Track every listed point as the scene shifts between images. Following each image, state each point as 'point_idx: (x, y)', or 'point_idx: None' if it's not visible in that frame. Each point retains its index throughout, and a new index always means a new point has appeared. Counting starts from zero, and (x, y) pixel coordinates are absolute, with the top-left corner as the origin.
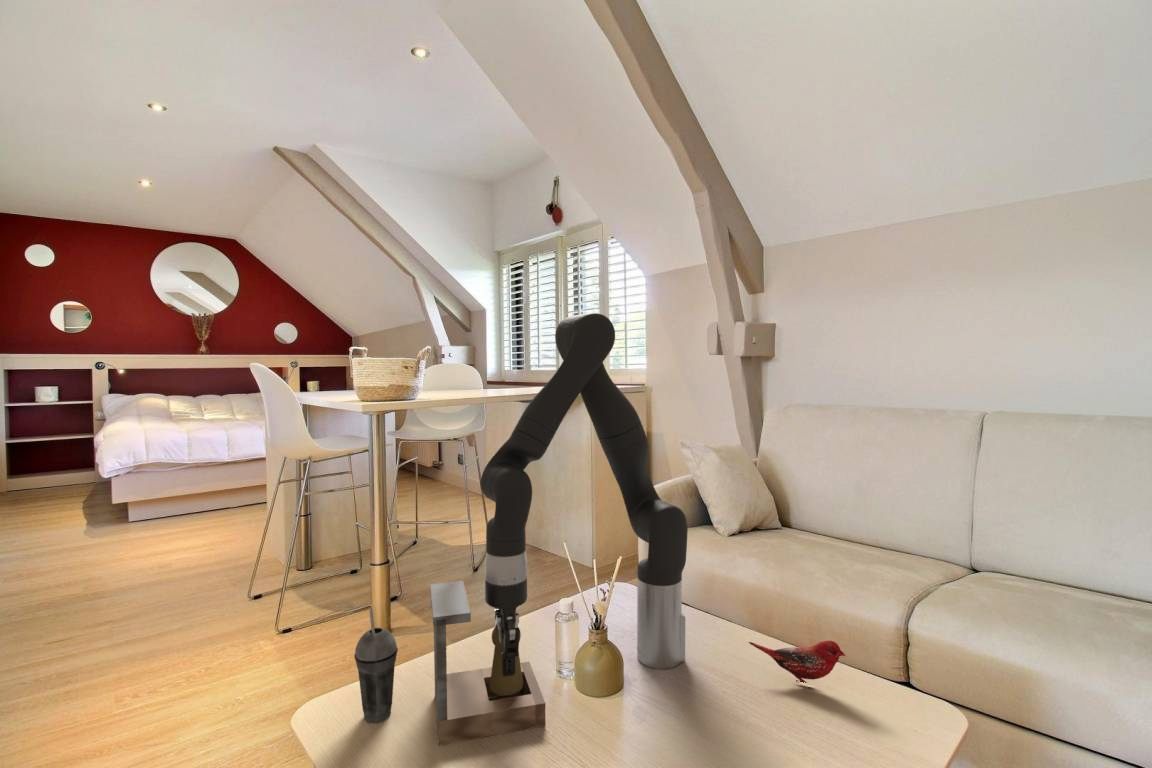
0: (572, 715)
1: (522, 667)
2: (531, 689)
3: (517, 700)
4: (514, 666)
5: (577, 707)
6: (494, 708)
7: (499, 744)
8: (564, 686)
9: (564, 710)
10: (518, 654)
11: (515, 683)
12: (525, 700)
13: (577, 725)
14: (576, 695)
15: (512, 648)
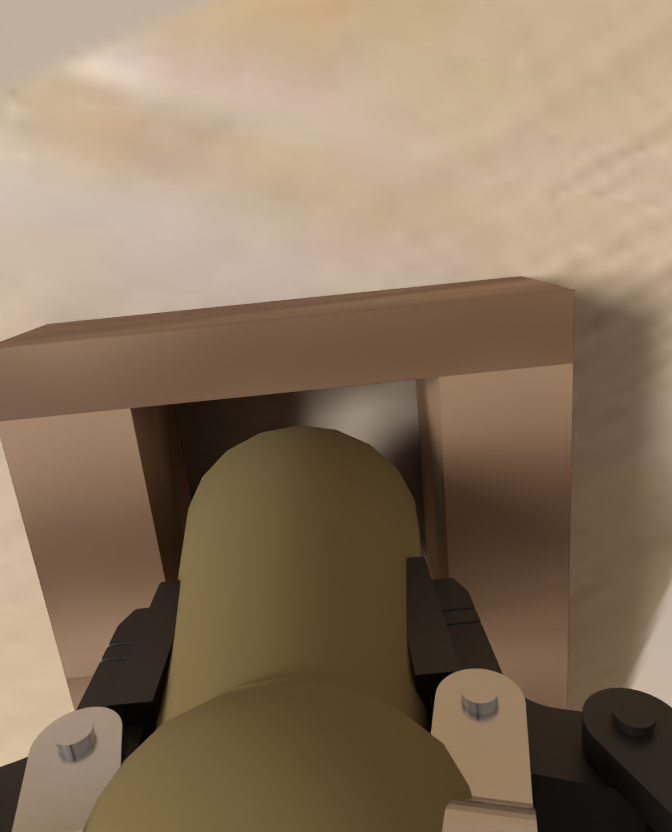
0: (465, 84)
1: (66, 411)
2: (381, 371)
3: (491, 476)
4: (433, 596)
5: (388, 28)
6: (534, 610)
7: (597, 521)
8: (125, 79)
9: (402, 131)
10: (340, 593)
11: (403, 510)
12: (505, 424)
13: (572, 70)
14: (248, 5)
15: (535, 784)
